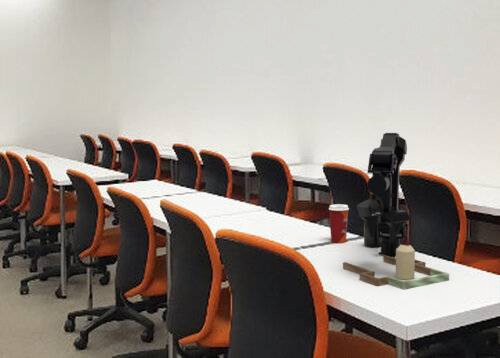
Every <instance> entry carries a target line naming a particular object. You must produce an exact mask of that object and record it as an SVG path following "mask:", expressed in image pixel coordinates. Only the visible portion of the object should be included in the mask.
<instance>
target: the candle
mask: <svg viewBox="0 0 500 358" xmlns="http://www.w3.org/2000/svg"><path fill="white" fill-rule="evenodd" d="M415 254H416V250H415V249H414V248H413V246H412V245H410V244H408V245H406V244H401V245H400V246H399V247H398V248H397V249H396V256H395V258H396V265H395V278H396V279H399V280H402V281H406V280H411V279H415V271H414V266H415V260H416V259H415V257H416V255H415Z"/></svg>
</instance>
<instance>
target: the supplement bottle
mask: <svg viewBox="0 0 500 358" xmlns="http://www.w3.org/2000/svg"><path fill="white" fill-rule="evenodd" d="M379 220H380V215H378V218H377V223H376V229H375V234H374V237H373V238H371V237H370V235H369V232H368V229H367V226H366V223H365V222H364V225H363V245H364V247H365V248H369V249H381V242H382V238H381V237H380V238H379V236H378V221H379Z"/></svg>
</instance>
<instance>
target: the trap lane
mask: <svg viewBox="0 0 500 358" xmlns="http://www.w3.org/2000/svg"><path fill="white" fill-rule="evenodd" d="M383 263H387V264H390V265H393V266H396V257H390V256H386V255H383ZM426 263H427V262H426V261H422V260H417V259H415V266H414V272H417V273H420V274H424V275H426V276H422V277H416V278H414V279H411V280H402V279H398V278H396V277H392V276H388V275H387V276H381V277H375V275H376V272H375V271H374V270H370V269H368V268H364V267H362V266H358V265H355V264H352V263H349V262H346V261H344V262H342V270H345V271H349V272H351V273H354V274H357V275H359V276H358V277H359V281H362V282H365V283H367V284H371V285H373V286H377V287H380V286H385V285H390V286H392V287H396V288H399V289H400V290H401V289H402V290H406V289H413V288H416V287H417V288H418V287H423V286H427V285H432V284H435V283H441V282H446V281H450V273H449V272H446V271H442V270H438V269H434V268H431V267H428V266H426Z"/></svg>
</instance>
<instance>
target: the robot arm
mask: <svg viewBox="0 0 500 358" xmlns="http://www.w3.org/2000/svg"><path fill="white" fill-rule="evenodd" d="M407 152H408V146H407V141H406V139H405V138H404V137H402V136H400V134H399V133H397V132H385V133H383V135H382V138H381V139H380V145H379V147H375V148H373V150H372V152H371V153H370V154H369V158H368V166H367V174H372V176H371V177H370V178H369V179H368V180H367V185H366V186H367V190H368V191H369V192H370V193H369V196H368V199H366V200H364V201H362V202H360V203H359V204H356V208H355V214H356V215H358V217H359V218H361V219H362V220H363V221H364V223H366V226H367V229H368V232H369V235H370V237H371V238H373V237H374V234H375V229H376V223H377V218H378V215H380V220H379V221H378V236H379V238H380V237H381V238H382V242H381V247H380V251H379V252H378V254H379V255H381V256H385V255H386V256H390V257H393V258H396V249H397V248H398V247H399V246H400V245H402V240H404V239H406V238H407V227H406V226H407V225H406V223H407V221H410V213H409V212H408V211H407V210H403V209H402V210H401V209H399V194H400V193H399V192H400V190H399V189H400V167H401V166H402V165H403V163H404V162H405V159H406V158H405V157H406V155H407Z"/></svg>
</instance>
